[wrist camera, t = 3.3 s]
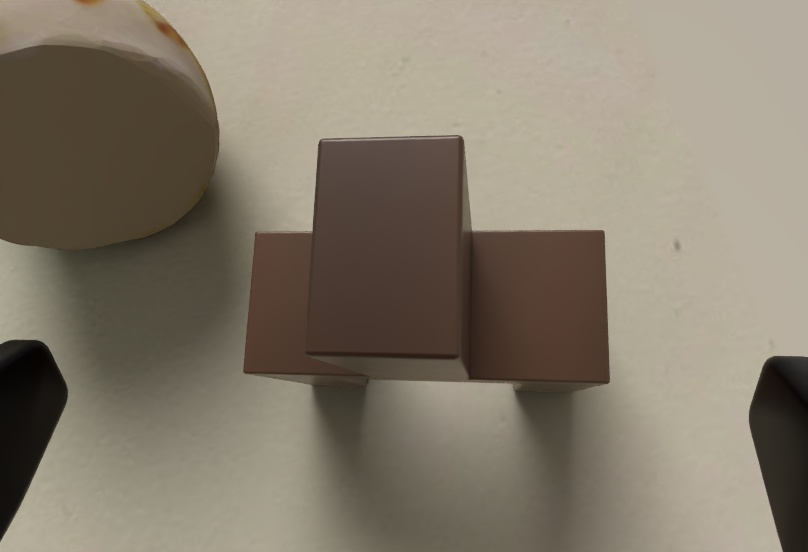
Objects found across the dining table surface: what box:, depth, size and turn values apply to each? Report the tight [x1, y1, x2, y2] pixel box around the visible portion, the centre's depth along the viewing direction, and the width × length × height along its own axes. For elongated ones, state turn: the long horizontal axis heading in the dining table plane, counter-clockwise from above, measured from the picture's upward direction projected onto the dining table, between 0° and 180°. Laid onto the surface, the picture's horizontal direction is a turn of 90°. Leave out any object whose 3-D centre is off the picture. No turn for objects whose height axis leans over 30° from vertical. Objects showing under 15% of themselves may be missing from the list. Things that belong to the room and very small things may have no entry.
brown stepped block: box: [243, 135, 610, 392], centre depth 13 cm, size 7×3×10 cm, turn 88°
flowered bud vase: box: [0, 0, 219, 250], centre depth 17 cm, size 8×10×10 cm
